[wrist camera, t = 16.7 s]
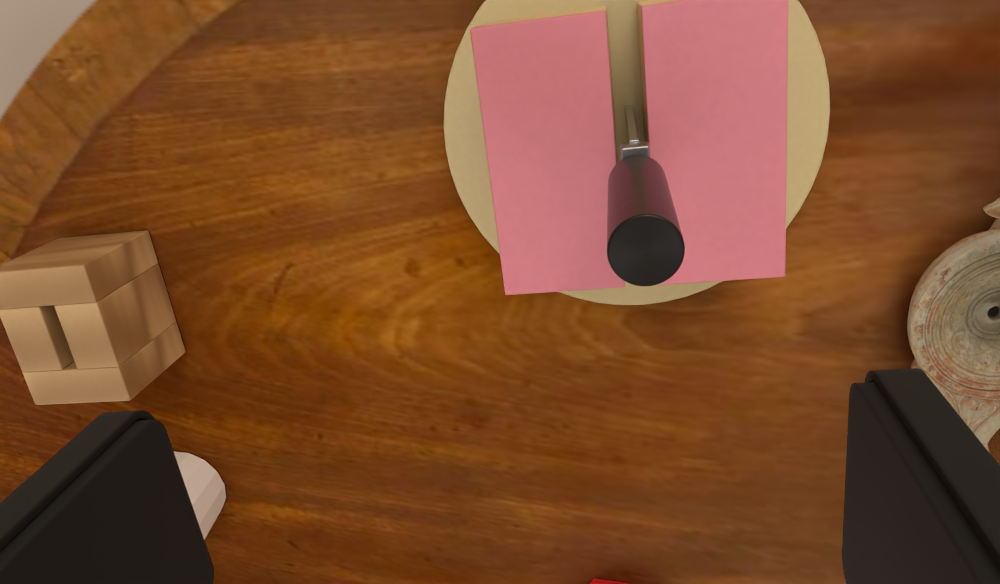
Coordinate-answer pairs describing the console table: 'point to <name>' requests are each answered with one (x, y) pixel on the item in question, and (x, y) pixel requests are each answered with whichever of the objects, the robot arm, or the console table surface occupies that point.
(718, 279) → the cake
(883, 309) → the console table surface
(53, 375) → the knife block
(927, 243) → the console table surface
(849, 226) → the console table surface
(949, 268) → the oil lamp
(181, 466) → the white cylinder
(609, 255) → the knife
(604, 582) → the apple
